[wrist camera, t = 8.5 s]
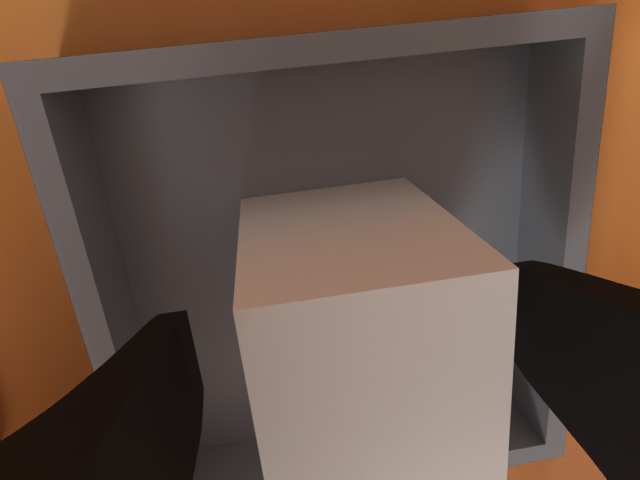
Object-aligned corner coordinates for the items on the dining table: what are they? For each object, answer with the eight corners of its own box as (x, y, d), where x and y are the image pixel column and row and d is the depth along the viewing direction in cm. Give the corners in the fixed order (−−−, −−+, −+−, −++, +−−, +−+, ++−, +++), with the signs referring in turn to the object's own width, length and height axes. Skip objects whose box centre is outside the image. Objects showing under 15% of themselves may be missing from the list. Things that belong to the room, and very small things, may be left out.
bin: (513, 391, 17) (563, 456, 14) (163, 451, 16) (145, 533, 13) (537, 14, 13) (616, 3, 10) (56, 61, 12) (-5, 63, 9)
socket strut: (405, 177, 13) (518, 268, 7) (409, 319, 15) (506, 481, 9) (240, 198, 13) (232, 311, 7) (264, 342, 14) (272, 525, 9)
